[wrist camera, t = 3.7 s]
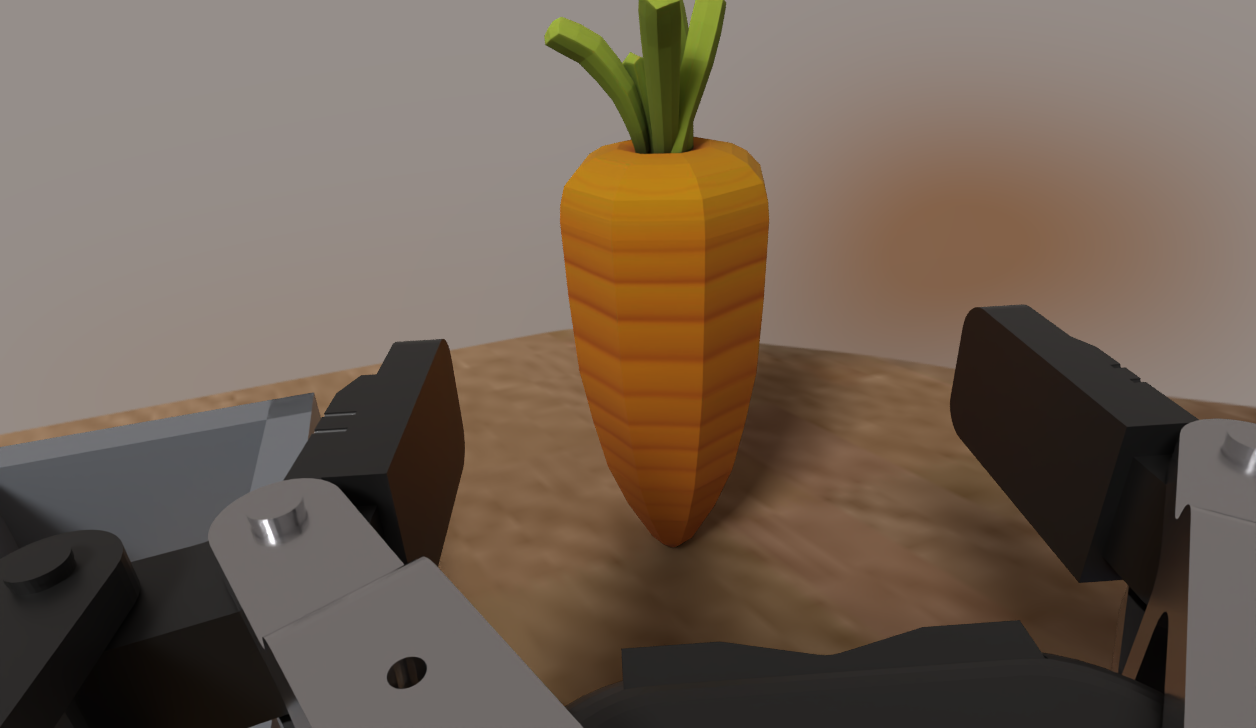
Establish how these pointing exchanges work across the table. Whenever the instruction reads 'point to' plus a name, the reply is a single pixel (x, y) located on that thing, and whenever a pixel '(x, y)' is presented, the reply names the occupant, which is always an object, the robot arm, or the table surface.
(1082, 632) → the table surface
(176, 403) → the table surface
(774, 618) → the table surface
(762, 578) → the table surface
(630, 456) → the carrot
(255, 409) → the socket block
